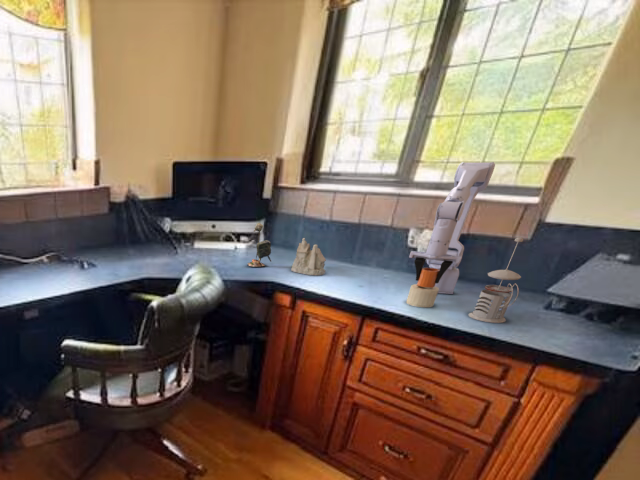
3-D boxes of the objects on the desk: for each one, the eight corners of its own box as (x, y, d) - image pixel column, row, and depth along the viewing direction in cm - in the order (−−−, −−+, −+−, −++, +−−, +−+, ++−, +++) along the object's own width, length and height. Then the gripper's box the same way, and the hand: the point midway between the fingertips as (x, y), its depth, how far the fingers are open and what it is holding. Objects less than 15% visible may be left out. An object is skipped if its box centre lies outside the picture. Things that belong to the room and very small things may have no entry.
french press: (491, 312, 140) (524, 234, 128) (518, 324, 130) (556, 241, 118) (461, 312, 140) (490, 234, 128) (485, 325, 130) (520, 241, 118)
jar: (429, 301, 151) (435, 284, 148) (436, 308, 145) (442, 291, 142) (403, 299, 154) (408, 283, 151) (409, 306, 147) (414, 289, 144)
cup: (432, 283, 147) (437, 268, 145) (436, 287, 143) (442, 271, 140) (415, 282, 149) (420, 267, 146) (419, 286, 144) (424, 270, 142)
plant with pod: (269, 268, 198) (275, 223, 188) (245, 267, 202) (250, 223, 192) (271, 264, 204) (277, 221, 195) (247, 263, 208) (252, 220, 199)
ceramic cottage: (315, 276, 183) (322, 240, 177) (283, 270, 195) (289, 237, 189) (335, 272, 192) (342, 238, 185) (303, 267, 204) (309, 235, 197)
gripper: (412, 240, 141) (400, 280, 147) (464, 245, 132) (449, 287, 138) (417, 237, 145) (405, 276, 152) (468, 241, 136) (453, 283, 143)
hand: (426, 281), depth 145 cm, fingers closed on cup, 5 cm apart
